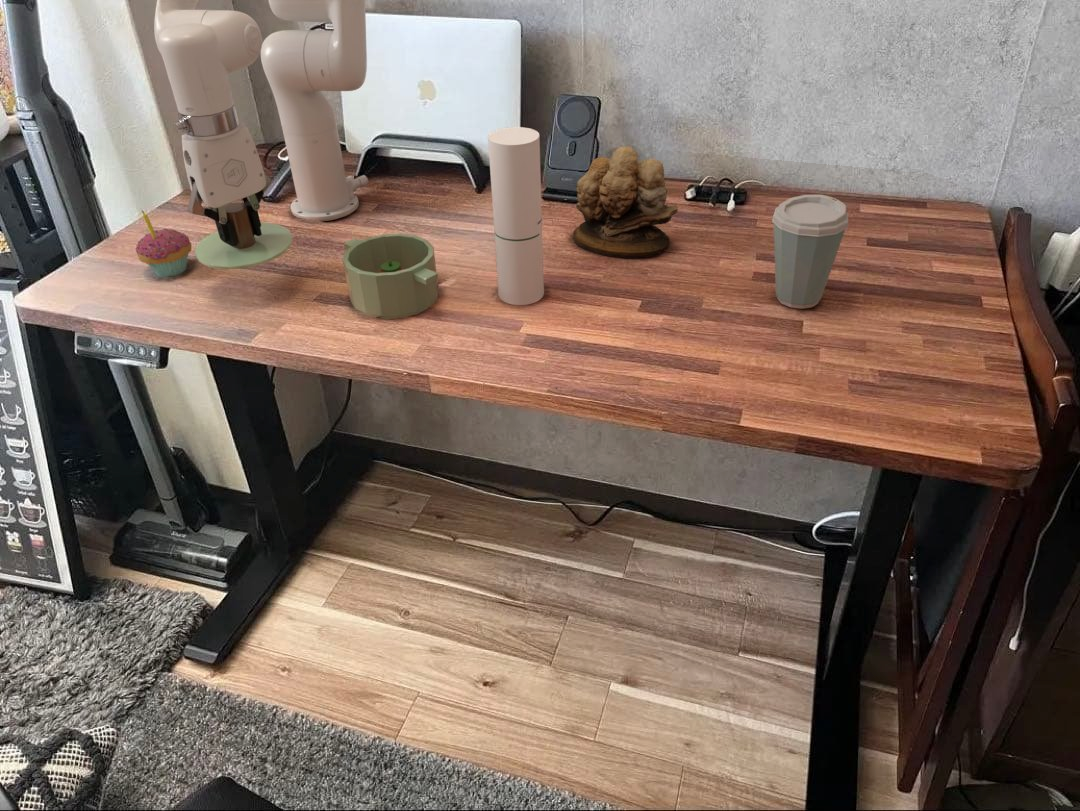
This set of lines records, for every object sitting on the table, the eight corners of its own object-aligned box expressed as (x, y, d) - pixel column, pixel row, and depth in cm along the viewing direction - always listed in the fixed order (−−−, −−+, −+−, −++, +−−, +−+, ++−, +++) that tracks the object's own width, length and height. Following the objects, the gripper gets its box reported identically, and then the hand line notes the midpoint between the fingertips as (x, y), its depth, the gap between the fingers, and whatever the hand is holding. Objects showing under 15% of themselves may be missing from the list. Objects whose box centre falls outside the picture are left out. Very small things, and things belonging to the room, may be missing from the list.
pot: (388, 263, 142) (382, 221, 138) (468, 298, 132) (464, 254, 127) (322, 294, 134) (313, 252, 130) (402, 335, 124) (396, 290, 119)
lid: (258, 220, 140) (248, 179, 135) (312, 245, 132) (303, 203, 128) (178, 253, 131) (164, 211, 127) (231, 283, 123) (218, 239, 119)
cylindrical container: (550, 285, 134) (546, 129, 119) (535, 308, 129) (529, 147, 114) (508, 279, 136) (499, 125, 121) (491, 301, 131) (480, 142, 116)
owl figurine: (682, 234, 147) (690, 138, 137) (665, 265, 139) (672, 164, 128) (584, 221, 153) (584, 127, 142) (562, 250, 144) (561, 152, 134)
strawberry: (395, 284, 135) (391, 250, 132) (414, 292, 133) (409, 258, 129) (374, 295, 133) (369, 261, 129) (393, 303, 130) (388, 269, 127)
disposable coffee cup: (792, 323, 123) (809, 228, 114) (745, 291, 131) (758, 200, 122) (847, 304, 127) (868, 211, 118) (799, 274, 135) (814, 185, 126)
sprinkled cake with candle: (180, 286, 138) (158, 217, 130) (134, 282, 139) (109, 214, 132) (207, 261, 144) (187, 195, 137) (162, 258, 146) (140, 192, 139)
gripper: (170, 144, 112) (208, 266, 124) (275, 109, 122) (301, 225, 133) (142, 132, 116) (181, 251, 128) (245, 99, 126) (273, 213, 137)
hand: (242, 237), depth 130 cm, fingers closed on lid, 3 cm apart
